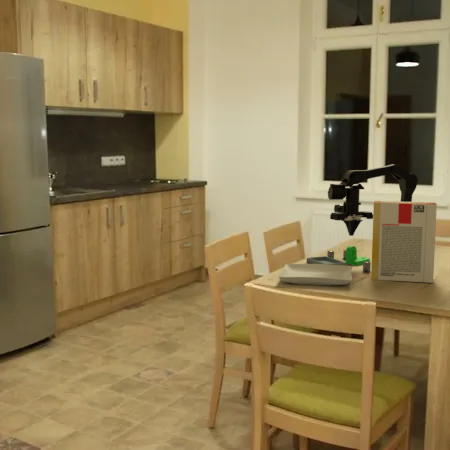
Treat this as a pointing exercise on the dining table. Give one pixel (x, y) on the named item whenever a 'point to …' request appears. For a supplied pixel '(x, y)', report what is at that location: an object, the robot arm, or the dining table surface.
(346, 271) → the square plate
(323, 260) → the parts tray
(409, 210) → the pasta box
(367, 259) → the mechanical part
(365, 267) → the spacer posts
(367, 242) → the dining table surface
